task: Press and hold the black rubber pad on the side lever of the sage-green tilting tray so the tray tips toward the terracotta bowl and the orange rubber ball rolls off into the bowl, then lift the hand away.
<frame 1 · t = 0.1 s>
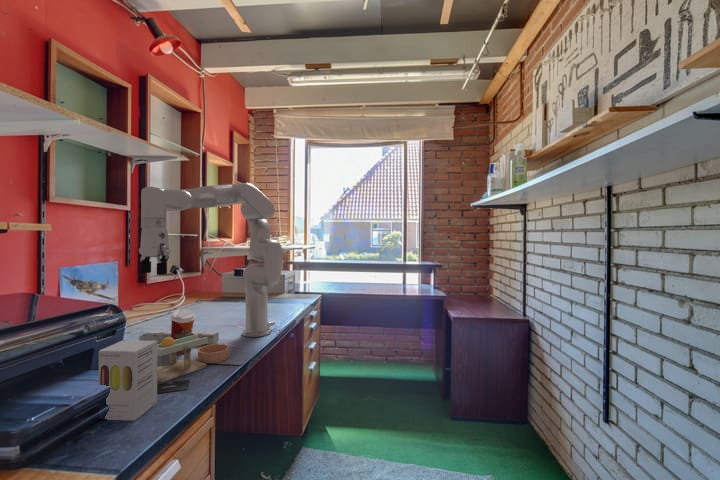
hand: (153, 273, 120), 31 cm above the table, tool pointing down, fingers open, 9 cm apart
solid state drive: (169, 389, 102), on the table
ball: (168, 342, 112), point 10 cm above the table, touching lever tray
lever tray: (174, 347, 118), point 6 cm above the table, hinge at 0.0°, touching ball
coffee cup: (179, 349, 133), point 1 cm above the table
stand: (180, 369, 116), on the table
supplement box: (128, 411, 88), on the table
bowl: (213, 358, 126), on the table
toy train: (178, 344, 143), on the table
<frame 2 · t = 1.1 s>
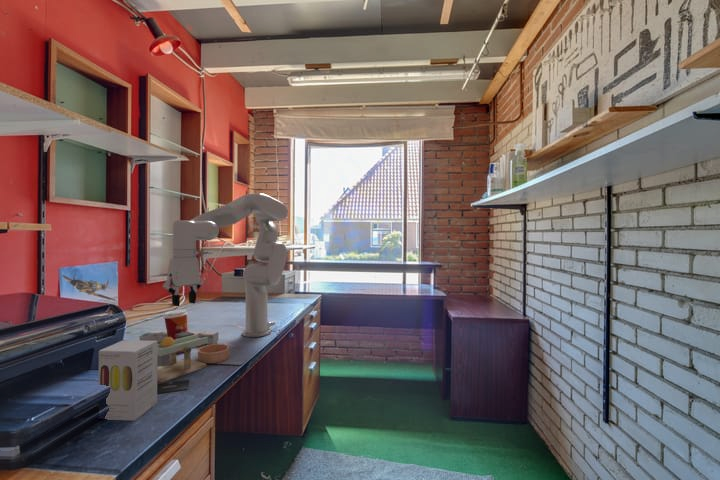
hand: (184, 303, 126), 19 cm above the table, tool pointing down, fingers open, 5 cm apart
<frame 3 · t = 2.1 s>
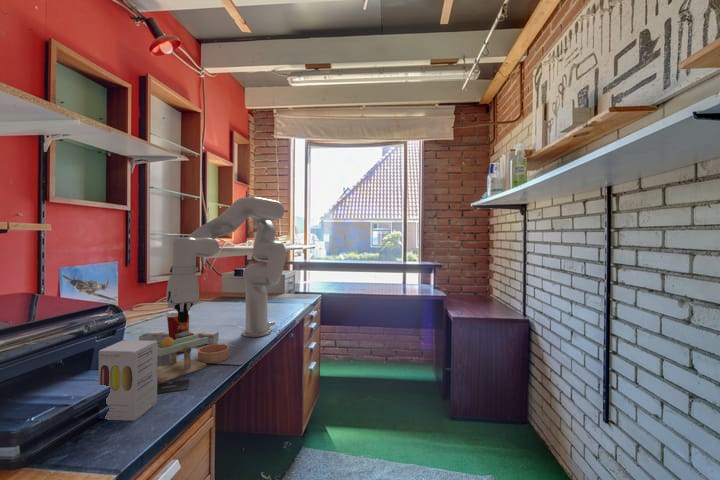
hand: (182, 322, 126), 13 cm above the table, tool pointing down, fingers closed
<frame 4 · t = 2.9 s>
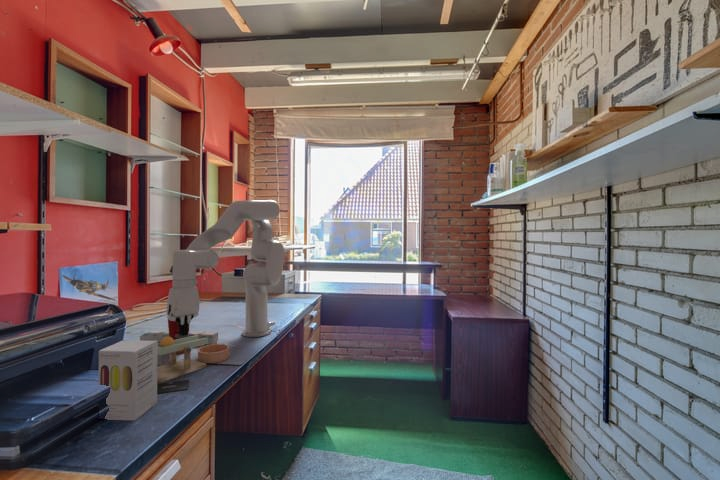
hand: (183, 334, 126), 8 cm above the table, tool pointing down, fingers closed
lever tray: (174, 347, 118), point 6 cm above the table, hinge at 2.3°, touching ball, gripper
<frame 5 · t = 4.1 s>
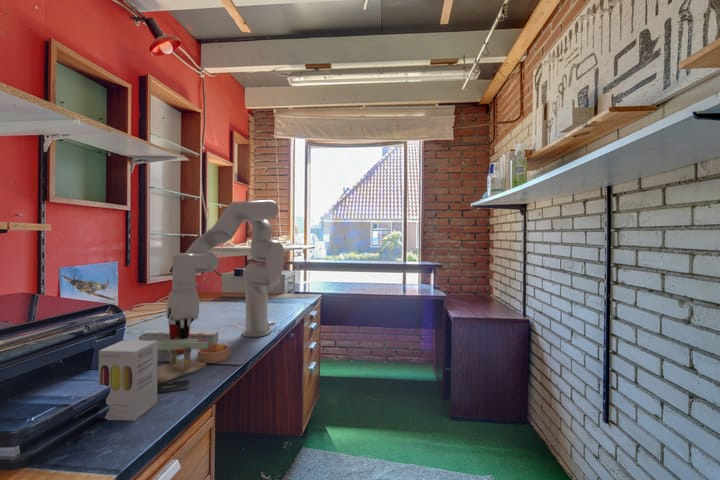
hand: (183, 337, 126), 7 cm above the table, tool pointing down, fingers closed
ball: (220, 349, 128), point 2 cm above the table, tilted 74°, touching bowl
lever tray: (173, 347, 118), point 6 cm above the table, hinge at 13.4°, touching gripper
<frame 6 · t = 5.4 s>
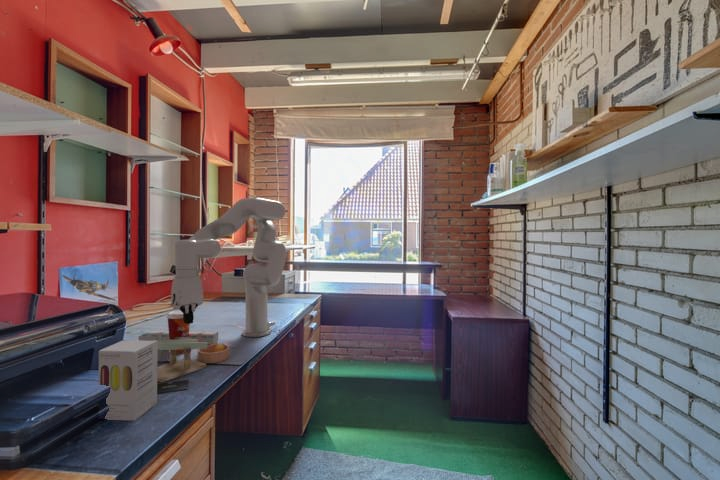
hand: (188, 323, 128), 12 cm above the table, tool pointing down, fingers closed
ball: (219, 349, 128), point 2 cm above the table, tilted 83°, touching bowl
lever tray: (173, 347, 118), point 6 cm above the table, hinge at 13.4°
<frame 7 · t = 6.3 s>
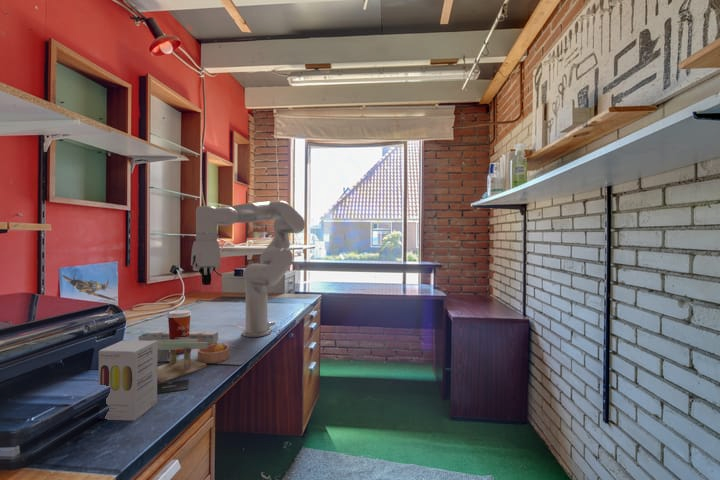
hand: (206, 284, 137), 25 cm above the table, tool pointing down, fingers closed
ball: (219, 349, 128), point 2 cm above the table, tilted 90°, touching bowl
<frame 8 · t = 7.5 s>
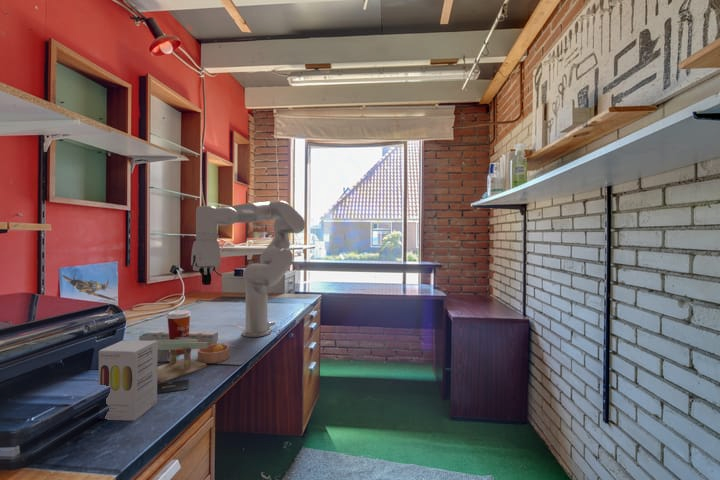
hand: (206, 284, 137), 25 cm above the table, tool pointing down, fingers closed
ball: (218, 349, 128), point 2 cm above the table, tilted 98°, touching bowl
at the end: ball inside the target area on the bowl (2.0 cm from its centre), point 2.4 cm above the bowl's base; ball moved 19.9 cm from its start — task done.
